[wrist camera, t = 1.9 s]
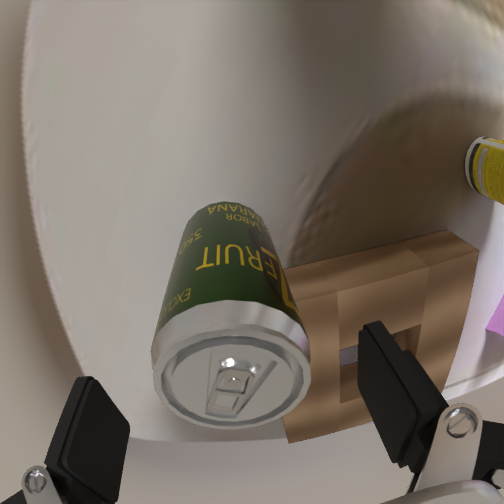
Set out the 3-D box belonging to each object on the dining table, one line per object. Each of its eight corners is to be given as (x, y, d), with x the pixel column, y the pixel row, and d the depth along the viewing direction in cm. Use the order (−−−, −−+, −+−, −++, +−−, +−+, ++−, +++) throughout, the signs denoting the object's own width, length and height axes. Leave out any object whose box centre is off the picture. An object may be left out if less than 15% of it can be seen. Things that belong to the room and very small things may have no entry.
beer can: (253, 284, 21) (282, 437, 10) (175, 266, 20) (141, 418, 9) (279, 211, 19) (348, 338, 8) (194, 188, 18) (156, 301, 7)
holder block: (250, 276, 21) (256, 310, 17) (447, 229, 21) (478, 250, 17) (282, 411, 28) (288, 443, 24) (425, 367, 28) (441, 392, 24)
